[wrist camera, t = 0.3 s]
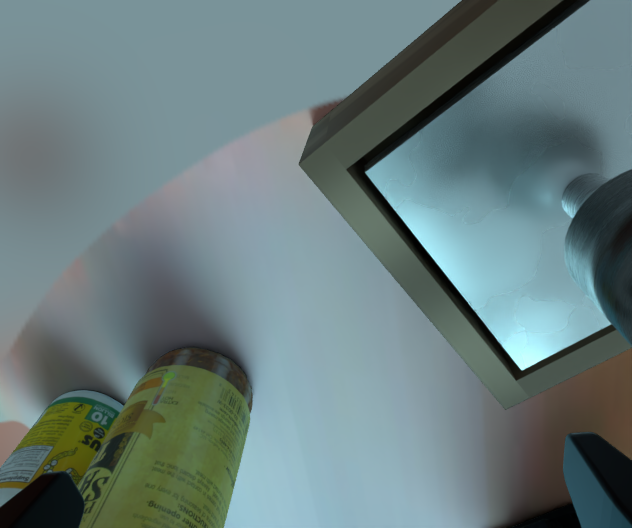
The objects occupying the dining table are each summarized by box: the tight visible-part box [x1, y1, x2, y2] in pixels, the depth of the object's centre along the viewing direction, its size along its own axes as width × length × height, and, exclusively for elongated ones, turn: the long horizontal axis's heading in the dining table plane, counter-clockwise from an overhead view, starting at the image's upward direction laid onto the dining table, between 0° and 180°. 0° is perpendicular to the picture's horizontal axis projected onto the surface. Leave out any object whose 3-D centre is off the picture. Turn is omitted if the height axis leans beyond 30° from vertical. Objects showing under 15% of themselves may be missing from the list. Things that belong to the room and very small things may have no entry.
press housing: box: [299, 0, 632, 410], centre depth 16 cm, size 12×12×6 cm
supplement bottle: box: [0, 390, 124, 507], centre depth 23 cm, size 5×5×10 cm
